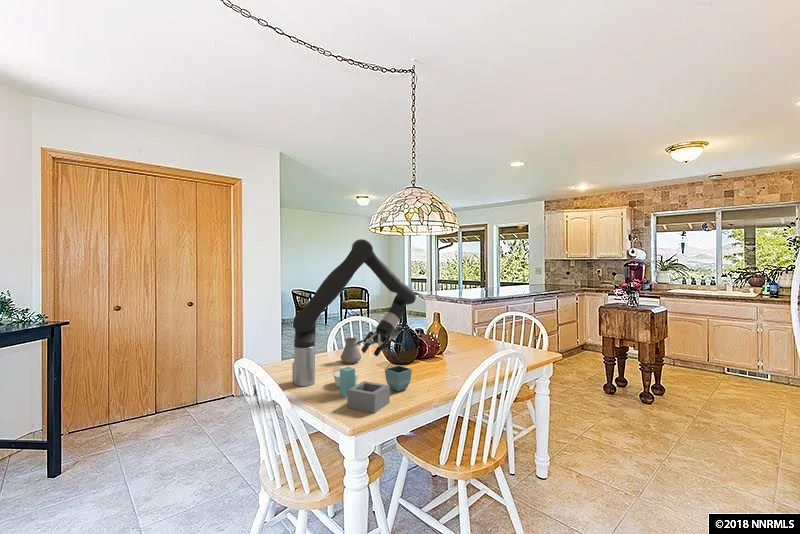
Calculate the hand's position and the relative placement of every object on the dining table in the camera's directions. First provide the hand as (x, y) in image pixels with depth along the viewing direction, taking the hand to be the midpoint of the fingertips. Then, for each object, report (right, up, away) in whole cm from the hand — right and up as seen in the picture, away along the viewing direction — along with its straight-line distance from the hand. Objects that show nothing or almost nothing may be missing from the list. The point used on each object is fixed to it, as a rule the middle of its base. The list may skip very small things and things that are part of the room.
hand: (368, 353), depth 173 cm
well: (+2, -16, -19) cm, 25 cm away
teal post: (-8, -16, -8) cm, 19 cm away
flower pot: (+13, -16, 0) cm, 20 cm away
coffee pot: (-11, -15, +40) cm, 44 cm away
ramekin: (-11, -16, +6) cm, 20 cm away
